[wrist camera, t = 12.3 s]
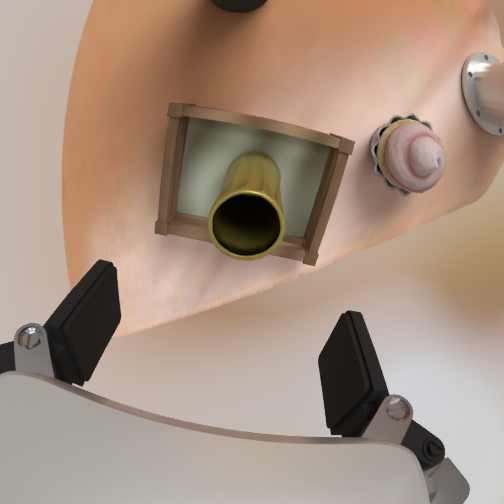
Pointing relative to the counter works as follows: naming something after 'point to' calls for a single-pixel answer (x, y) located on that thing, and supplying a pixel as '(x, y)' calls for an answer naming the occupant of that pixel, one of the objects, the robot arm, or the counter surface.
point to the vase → (248, 209)
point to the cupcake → (407, 154)
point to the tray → (230, 147)
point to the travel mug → (238, 5)
